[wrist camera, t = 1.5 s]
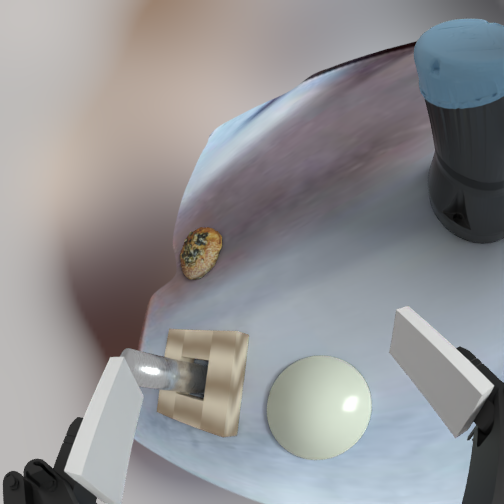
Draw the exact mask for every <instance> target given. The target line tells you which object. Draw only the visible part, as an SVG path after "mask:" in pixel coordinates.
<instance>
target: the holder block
mask: <svg viewBox="0 0 504 504" xmlns="http://www.w3.org/2000/svg"><path fill="white" fill-rule="evenodd" d="M248 341H249V335H248V334H245V333H241V332H238V331H208V330H183V329H169V333H168V338H167V344H166V350H165V357H167V358H171V359H176V360H181V361H186V362H191V363H194V359H198V360H206V361H209V364H208V371H207V378H206V386H205V393H204V398H200V397H197V396H193V395H189V393H187V392H177V391H168V390H160V391H159V398H158V407H157V412H158V413H161V414H163V415H165V416H168V417H170V418H172V419H175V420H177V421H180V422H182V423H185V424H187V425H190V426H192V427H195V428H198V429H200V430H203V431H206V432H209V433H212V434H215V435H218V436H221V437H230V436H237V431H238V423H239V415H240V407H241V399H242V391H243V382H244V374H245V366H246V358H247V349H248Z"/></svg>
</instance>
